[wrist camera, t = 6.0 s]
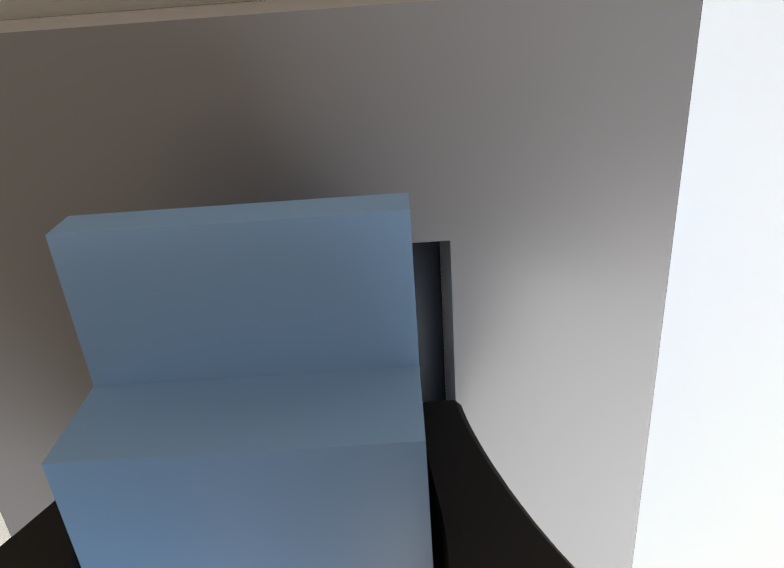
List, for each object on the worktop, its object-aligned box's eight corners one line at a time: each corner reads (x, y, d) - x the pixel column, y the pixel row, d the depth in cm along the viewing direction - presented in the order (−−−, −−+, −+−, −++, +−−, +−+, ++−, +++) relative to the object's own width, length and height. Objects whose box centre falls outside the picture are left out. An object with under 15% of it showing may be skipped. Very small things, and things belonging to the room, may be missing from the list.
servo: (402, 130, 11) (420, 319, 5) (430, 579, 15) (456, 933, 10) (148, 148, 11) (-95, 352, 5) (251, 589, 15) (176, 945, 10)
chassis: (630, -28, 11) (704, -21, 9) (583, 561, 18) (619, 672, 15) (-68, 25, 12) (-203, 48, 9) (128, 587, 18) (83, 699, 15)
